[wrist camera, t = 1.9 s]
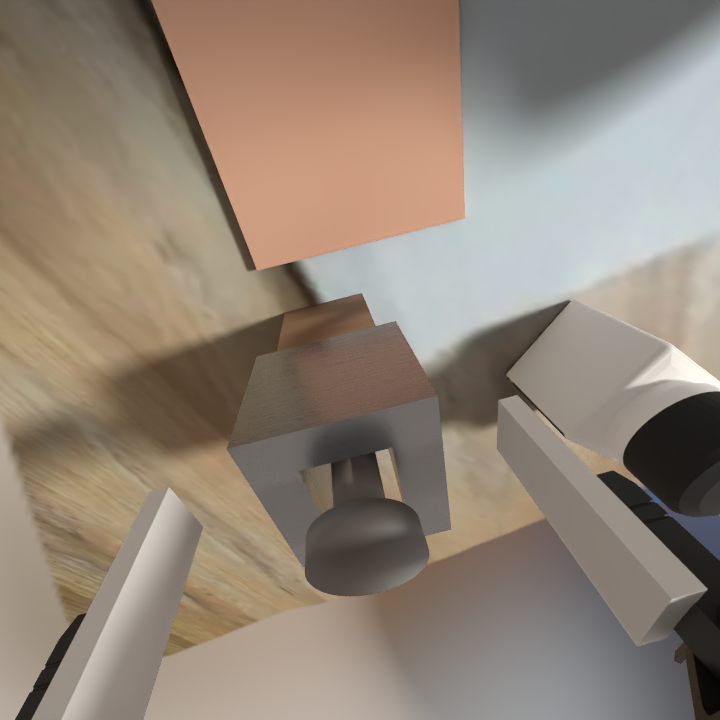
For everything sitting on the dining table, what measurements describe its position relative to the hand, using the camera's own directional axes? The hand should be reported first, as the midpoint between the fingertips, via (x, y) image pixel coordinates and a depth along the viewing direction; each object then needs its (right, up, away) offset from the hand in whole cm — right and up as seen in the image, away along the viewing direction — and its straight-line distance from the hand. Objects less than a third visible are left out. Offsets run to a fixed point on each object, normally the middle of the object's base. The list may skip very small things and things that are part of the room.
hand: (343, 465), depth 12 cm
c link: (0, +2, +5) cm, 5 cm away
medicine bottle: (+17, +5, +12) cm, 21 cm away
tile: (-1, +16, +2) cm, 16 cm away
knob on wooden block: (-1, +4, +9) cm, 10 cm away
